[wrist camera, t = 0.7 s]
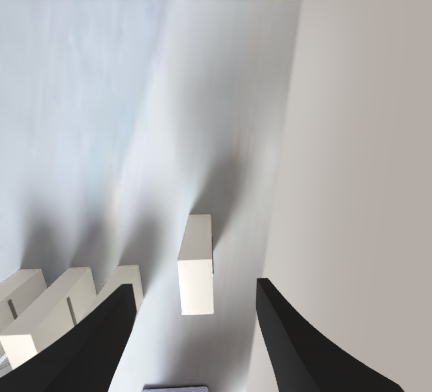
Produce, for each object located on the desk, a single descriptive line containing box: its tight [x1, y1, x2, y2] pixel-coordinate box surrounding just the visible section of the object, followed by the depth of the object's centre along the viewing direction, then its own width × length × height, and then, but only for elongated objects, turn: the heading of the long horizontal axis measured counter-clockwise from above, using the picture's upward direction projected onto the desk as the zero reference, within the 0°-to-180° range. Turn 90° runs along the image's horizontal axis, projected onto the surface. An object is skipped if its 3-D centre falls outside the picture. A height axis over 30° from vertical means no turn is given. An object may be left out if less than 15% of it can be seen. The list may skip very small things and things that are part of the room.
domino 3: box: [79, 265, 144, 322], centre depth 17 cm, size 4×2×7 cm, turn 1°
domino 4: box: [177, 214, 214, 315], centre depth 16 cm, size 4×2×7 cm, turn 1°
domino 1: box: [0, 269, 47, 358], centre depth 17 cm, size 4×2×7 cm, turn 1°
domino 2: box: [0, 267, 97, 370], centre depth 17 cm, size 4×2×7 cm, turn 1°
